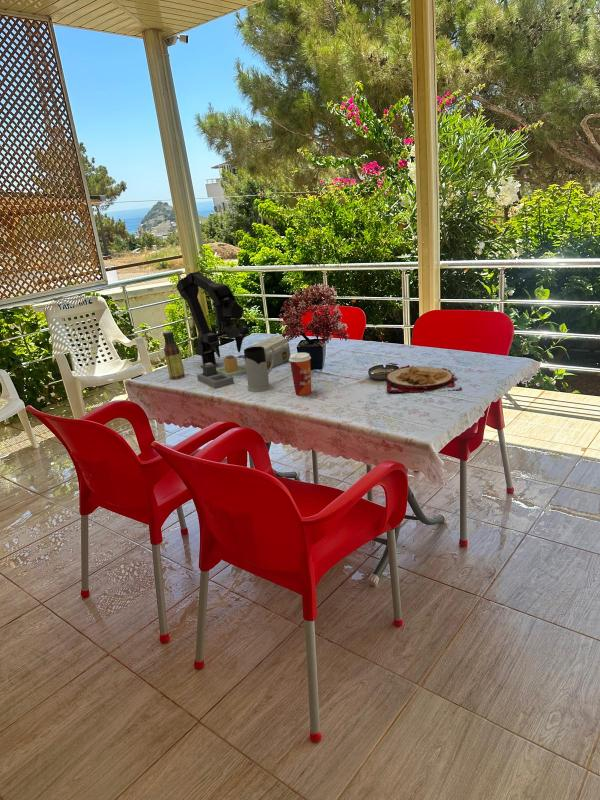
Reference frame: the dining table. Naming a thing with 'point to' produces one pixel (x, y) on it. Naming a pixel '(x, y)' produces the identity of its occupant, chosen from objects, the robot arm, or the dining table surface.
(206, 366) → the twin plug
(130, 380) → the dining table surface
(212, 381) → the power strip
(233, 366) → the plug
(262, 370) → the grey pitcher
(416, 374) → the plate with food
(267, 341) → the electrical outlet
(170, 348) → the sauce bottle
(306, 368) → the paper cup
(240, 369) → the tray
